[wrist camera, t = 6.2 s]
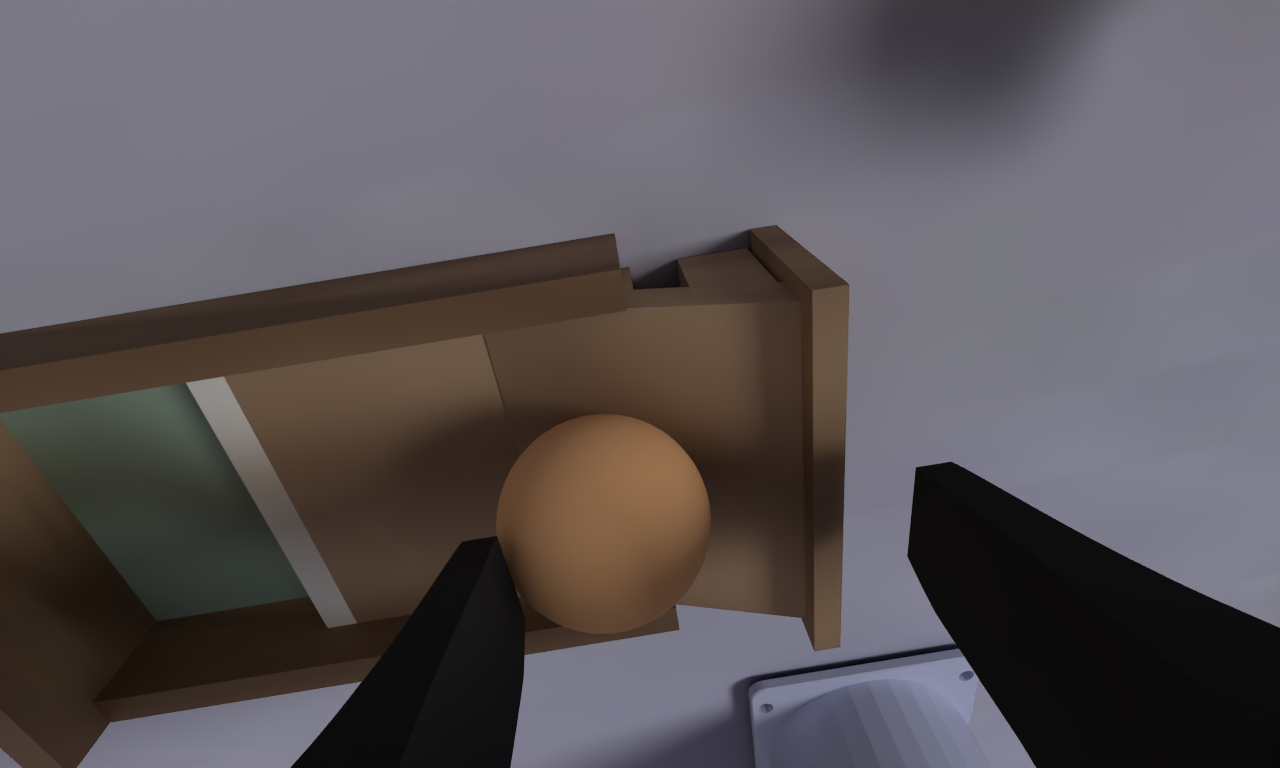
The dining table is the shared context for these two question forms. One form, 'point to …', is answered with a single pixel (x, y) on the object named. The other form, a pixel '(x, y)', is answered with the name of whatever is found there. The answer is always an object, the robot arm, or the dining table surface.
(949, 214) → the dining table surface
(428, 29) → the dining table surface
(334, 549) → the wooden shadow box
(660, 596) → the ball
